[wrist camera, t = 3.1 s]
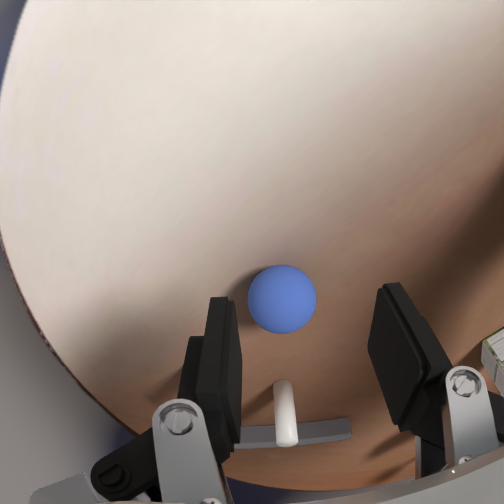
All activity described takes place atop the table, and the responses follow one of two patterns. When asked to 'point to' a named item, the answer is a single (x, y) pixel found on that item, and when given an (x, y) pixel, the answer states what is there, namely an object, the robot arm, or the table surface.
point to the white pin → (284, 414)
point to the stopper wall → (305, 431)
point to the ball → (281, 299)
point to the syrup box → (494, 358)
